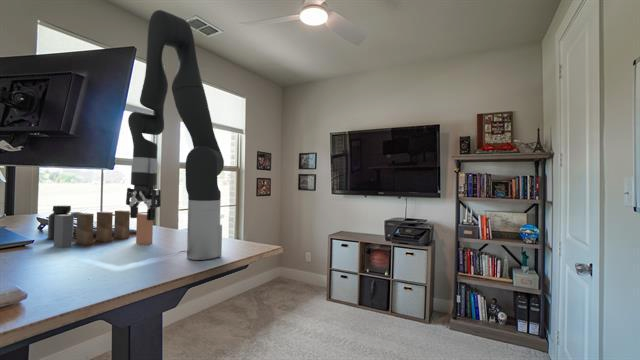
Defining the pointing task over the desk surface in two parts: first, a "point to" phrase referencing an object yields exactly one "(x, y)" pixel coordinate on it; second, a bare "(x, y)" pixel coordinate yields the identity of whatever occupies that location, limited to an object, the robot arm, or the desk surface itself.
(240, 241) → the desk surface
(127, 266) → the desk surface
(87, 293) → the desk surface
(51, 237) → the supplement bottle
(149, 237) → the domino
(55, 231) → the end domino
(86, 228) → the domino
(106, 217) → the domino
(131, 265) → the desk surface
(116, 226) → the domino
